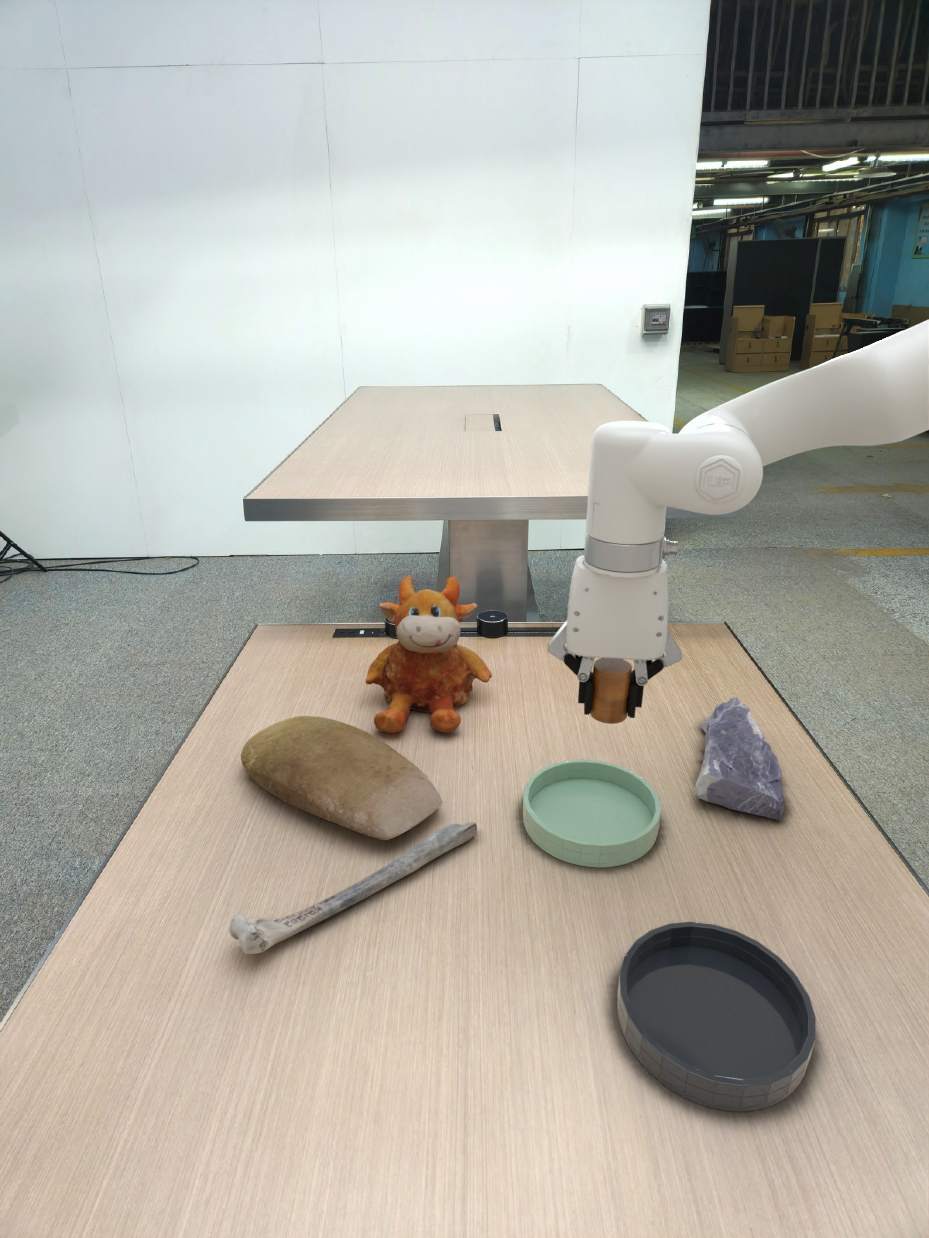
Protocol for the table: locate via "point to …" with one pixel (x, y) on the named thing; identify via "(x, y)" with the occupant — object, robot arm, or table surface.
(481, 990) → the table surface
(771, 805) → the rock
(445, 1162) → the table surface
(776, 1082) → the slate bowl
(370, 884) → the bone
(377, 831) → the stone
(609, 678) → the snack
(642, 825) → the green bowl
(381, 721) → the toy
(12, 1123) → the table surface
